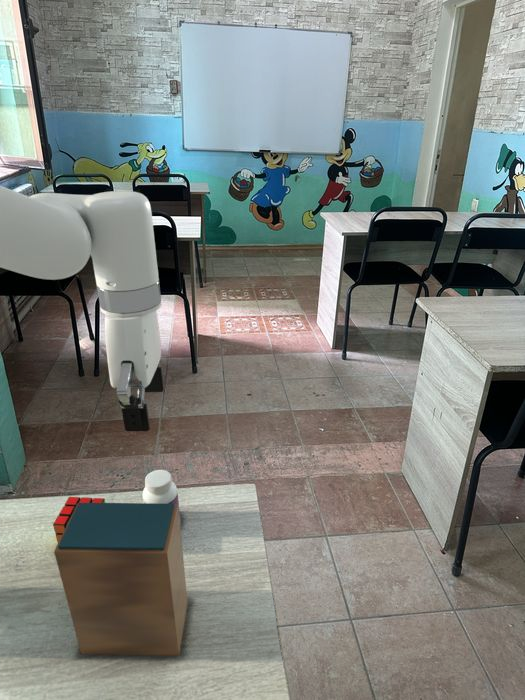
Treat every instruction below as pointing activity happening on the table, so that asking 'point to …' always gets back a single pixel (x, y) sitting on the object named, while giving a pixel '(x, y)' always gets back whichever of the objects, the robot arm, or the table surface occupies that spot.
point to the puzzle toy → (70, 513)
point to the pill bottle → (160, 489)
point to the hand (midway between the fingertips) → (146, 409)
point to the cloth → (118, 526)
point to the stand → (127, 596)
